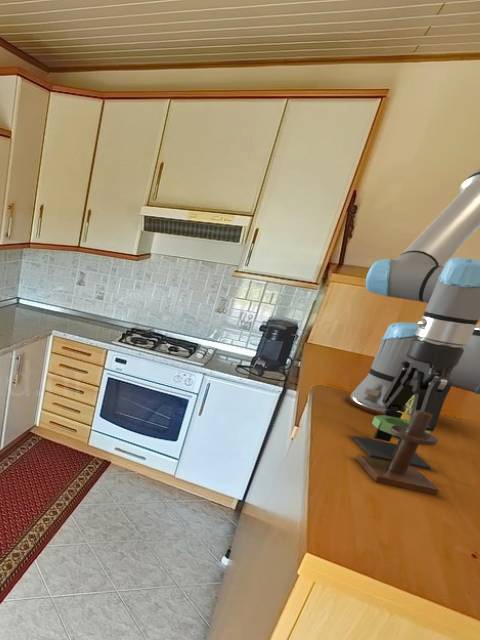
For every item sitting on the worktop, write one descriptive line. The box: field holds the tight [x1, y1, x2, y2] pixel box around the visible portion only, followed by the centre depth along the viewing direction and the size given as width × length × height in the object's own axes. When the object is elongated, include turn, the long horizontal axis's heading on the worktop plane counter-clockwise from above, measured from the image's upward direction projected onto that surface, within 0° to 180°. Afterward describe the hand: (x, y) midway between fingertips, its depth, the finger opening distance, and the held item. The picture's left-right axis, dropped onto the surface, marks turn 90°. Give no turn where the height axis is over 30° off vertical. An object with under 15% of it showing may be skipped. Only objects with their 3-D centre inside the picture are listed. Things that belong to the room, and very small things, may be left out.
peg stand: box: [356, 410, 440, 496], centre depth 88 cm, size 9×9×13 cm
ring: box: [371, 415, 431, 437], centre depth 99 cm, size 8×8×2 cm
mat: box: [352, 435, 432, 471], centre depth 101 cm, size 10×10×1 cm
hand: (390, 447), depth 100 cm, fingers closed on ring, 8 cm apart
